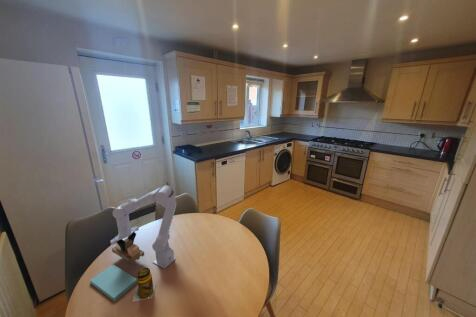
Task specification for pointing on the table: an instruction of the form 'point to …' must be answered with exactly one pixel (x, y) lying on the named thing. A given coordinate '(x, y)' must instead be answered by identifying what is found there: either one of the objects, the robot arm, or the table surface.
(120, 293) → the dock
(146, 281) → the condiment
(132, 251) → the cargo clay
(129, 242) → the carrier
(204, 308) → the table surface
